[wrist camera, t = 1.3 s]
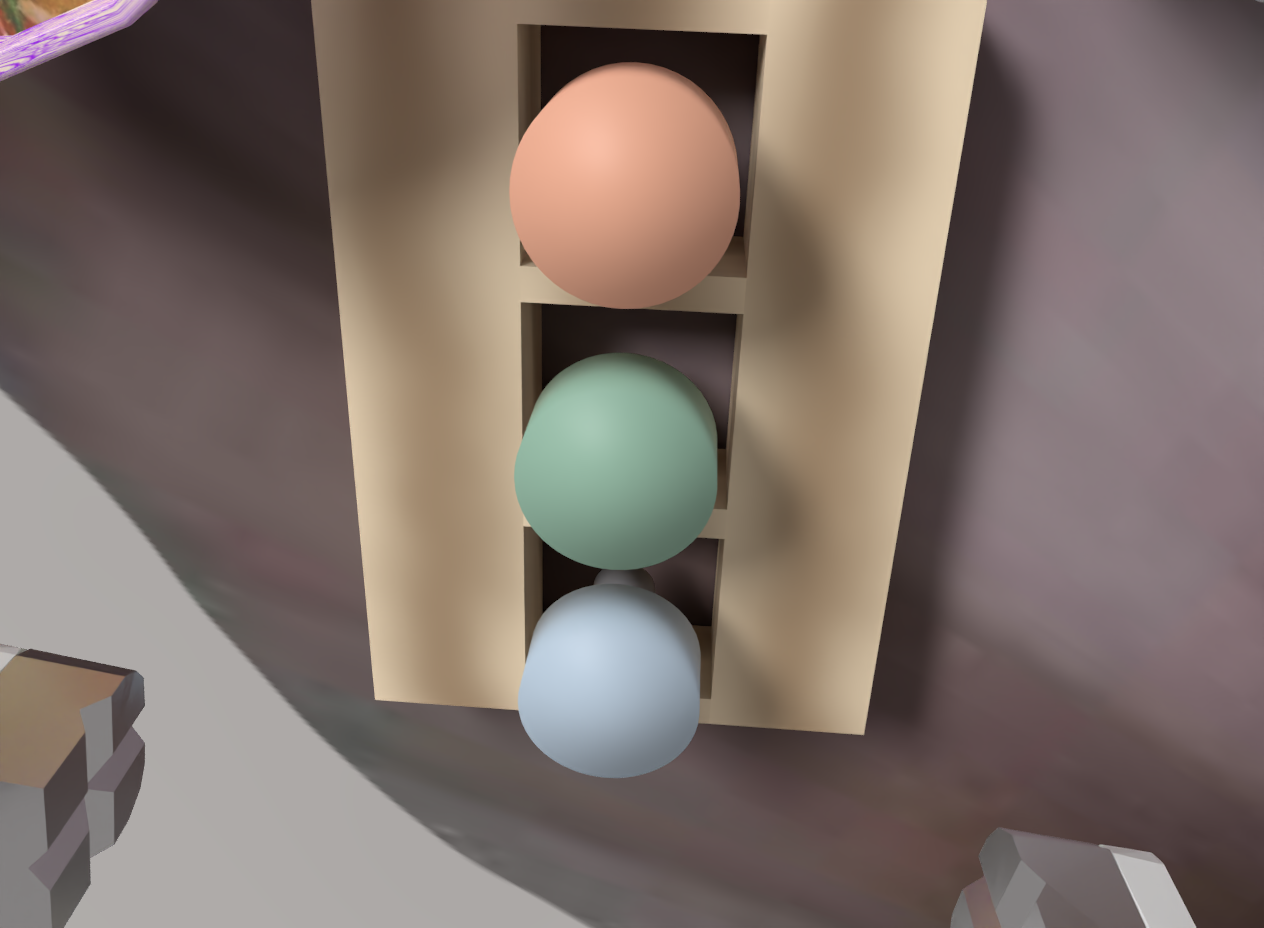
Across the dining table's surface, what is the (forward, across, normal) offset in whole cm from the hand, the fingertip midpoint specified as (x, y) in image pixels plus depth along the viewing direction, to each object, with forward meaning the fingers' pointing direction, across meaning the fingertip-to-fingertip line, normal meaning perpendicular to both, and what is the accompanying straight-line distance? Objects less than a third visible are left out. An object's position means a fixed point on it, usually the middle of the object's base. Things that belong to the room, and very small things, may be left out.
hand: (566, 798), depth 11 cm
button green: (+22, -1, +5) cm, 22 cm away
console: (+24, -1, +5) cm, 25 cm away
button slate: (+22, -2, +12) cm, 25 cm away
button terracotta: (+22, 0, -2) cm, 22 cm away
